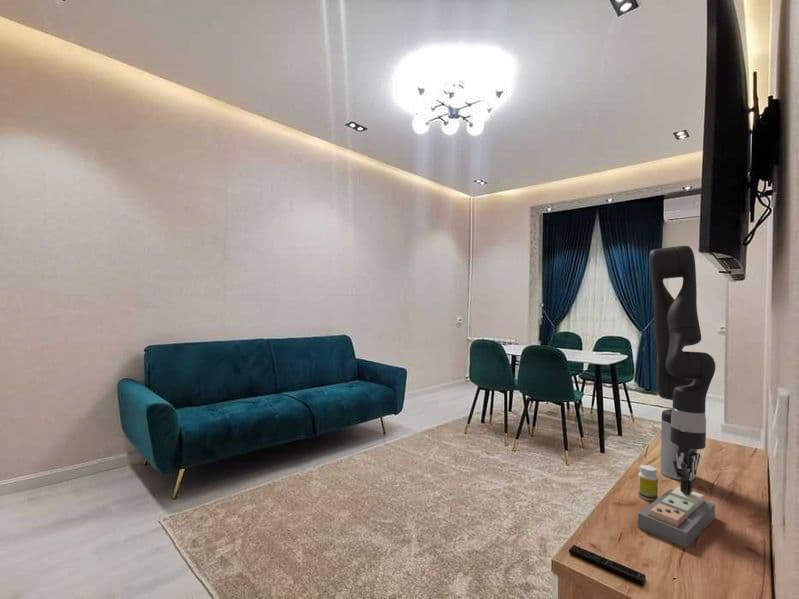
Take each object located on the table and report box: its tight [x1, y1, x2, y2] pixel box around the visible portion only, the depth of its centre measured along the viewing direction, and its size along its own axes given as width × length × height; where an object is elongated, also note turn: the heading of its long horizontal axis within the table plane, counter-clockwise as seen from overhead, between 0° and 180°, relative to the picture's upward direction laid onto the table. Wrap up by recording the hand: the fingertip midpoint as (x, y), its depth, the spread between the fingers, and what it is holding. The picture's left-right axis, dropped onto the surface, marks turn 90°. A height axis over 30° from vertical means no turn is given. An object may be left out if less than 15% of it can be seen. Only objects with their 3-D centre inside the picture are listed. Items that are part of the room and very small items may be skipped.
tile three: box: [650, 503, 685, 528], centre depth 96 cm, size 6×6×3 cm
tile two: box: [661, 495, 695, 518], centre depth 100 cm, size 6×6×3 cm
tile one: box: [671, 486, 704, 509], centre depth 104 cm, size 6×6×3 cm
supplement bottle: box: [637, 464, 659, 502], centre depth 113 cm, size 5×5×8 cm
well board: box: [637, 488, 716, 549], centre depth 100 cm, size 22×10×4 cm, turn 128°
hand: (686, 492), depth 104 cm, fingers closed
